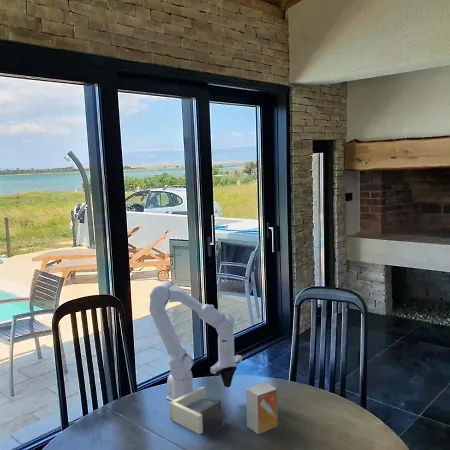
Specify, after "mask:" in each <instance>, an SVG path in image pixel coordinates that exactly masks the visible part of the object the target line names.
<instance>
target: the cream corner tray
mask: <svg viewBox="0 0 450 450" xmlns="http://www.w3.org/2000/svg"><path fill="white" fill-rule="evenodd" d="M204 398H205V399H206V387H205V386H202V385H201V386H200V387H197V388H196V389H193V391H191V392H189V393H187V394H185V395H183V396H181V397H179V398H177V399H175V400H173V401H171V400H170V401H169V402H168V403H169V404H168V406H169V420H171V421H173V422H174V423H177V424H179V425H180V426H183V427H184V428H186V429H188V430H190V431H192V432H194V433H196V434H197V435H201V434H204V433H203V424H202V414H200V413H197V412H195V411H193V410H191V409H189V408H187V406H189V405H191V404H193V403H195V402H198V401H200V400H202V399H204Z"/></svg>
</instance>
